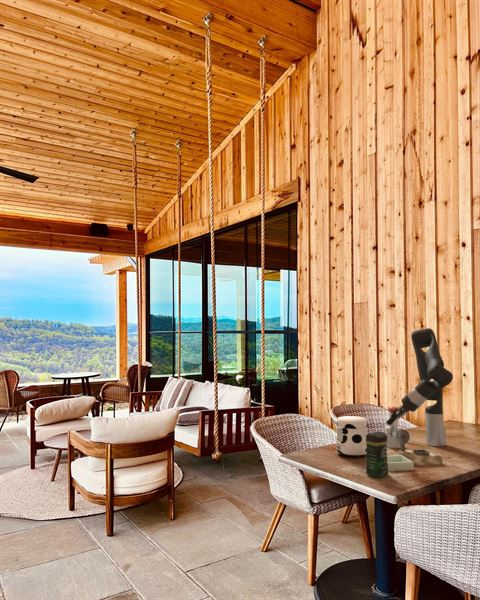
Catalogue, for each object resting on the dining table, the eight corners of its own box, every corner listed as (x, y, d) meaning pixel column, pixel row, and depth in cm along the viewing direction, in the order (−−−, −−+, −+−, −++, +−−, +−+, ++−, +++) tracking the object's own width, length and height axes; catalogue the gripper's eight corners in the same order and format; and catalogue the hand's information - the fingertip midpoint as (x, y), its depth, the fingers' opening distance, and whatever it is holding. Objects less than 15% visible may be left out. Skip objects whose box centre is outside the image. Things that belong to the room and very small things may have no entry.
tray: (401, 462, 219) (401, 455, 219) (413, 469, 207) (413, 462, 207) (377, 463, 218) (377, 456, 218) (388, 470, 206) (387, 463, 206)
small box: (399, 445, 251) (399, 425, 252) (402, 447, 246) (401, 428, 246) (385, 445, 252) (384, 425, 253) (387, 447, 246) (386, 427, 247)
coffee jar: (379, 479, 194) (378, 435, 195) (363, 475, 200) (362, 432, 201) (391, 474, 201) (390, 431, 202) (375, 470, 207) (374, 429, 208)
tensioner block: (429, 457, 227) (428, 427, 228) (442, 464, 215) (441, 432, 216) (394, 458, 226) (393, 428, 226) (406, 465, 214) (404, 434, 215)
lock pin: (397, 435, 216) (395, 406, 217) (401, 437, 211) (400, 408, 212) (387, 435, 216) (386, 406, 217) (391, 437, 211) (390, 408, 212)
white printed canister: (375, 452, 237) (374, 417, 238) (364, 460, 222) (363, 423, 223) (343, 448, 246) (342, 414, 247) (330, 456, 232) (329, 420, 233)
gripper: (413, 391, 216) (389, 414, 222) (403, 394, 205) (377, 419, 212) (425, 403, 212) (400, 427, 219) (415, 407, 201) (389, 432, 208)
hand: (389, 423), depth 215 cm, fingers closed on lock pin, 3 cm apart
